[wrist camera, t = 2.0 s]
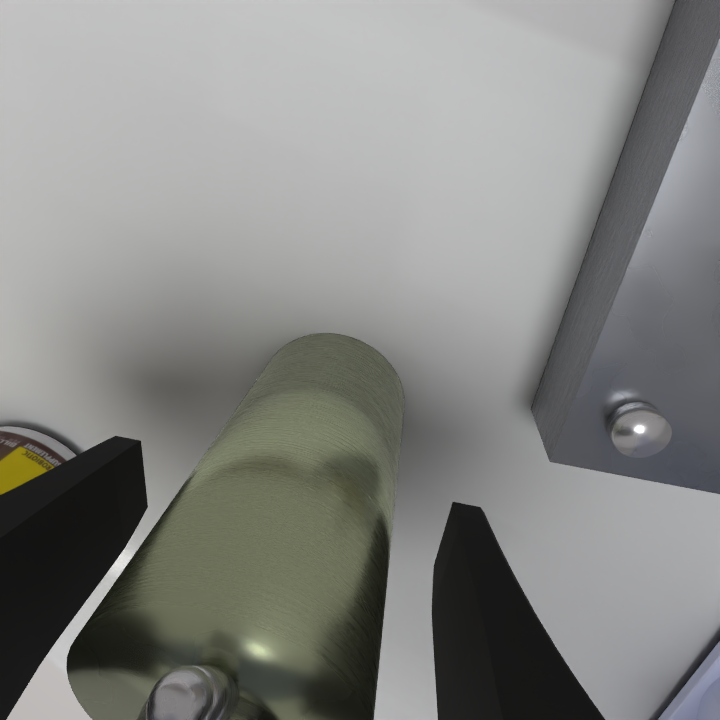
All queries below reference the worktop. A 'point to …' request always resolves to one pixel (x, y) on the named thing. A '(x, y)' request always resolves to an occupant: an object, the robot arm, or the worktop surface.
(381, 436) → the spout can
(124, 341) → the worktop surface
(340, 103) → the worktop surface
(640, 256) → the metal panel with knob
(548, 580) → the worktop surface
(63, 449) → the supplement bottle
